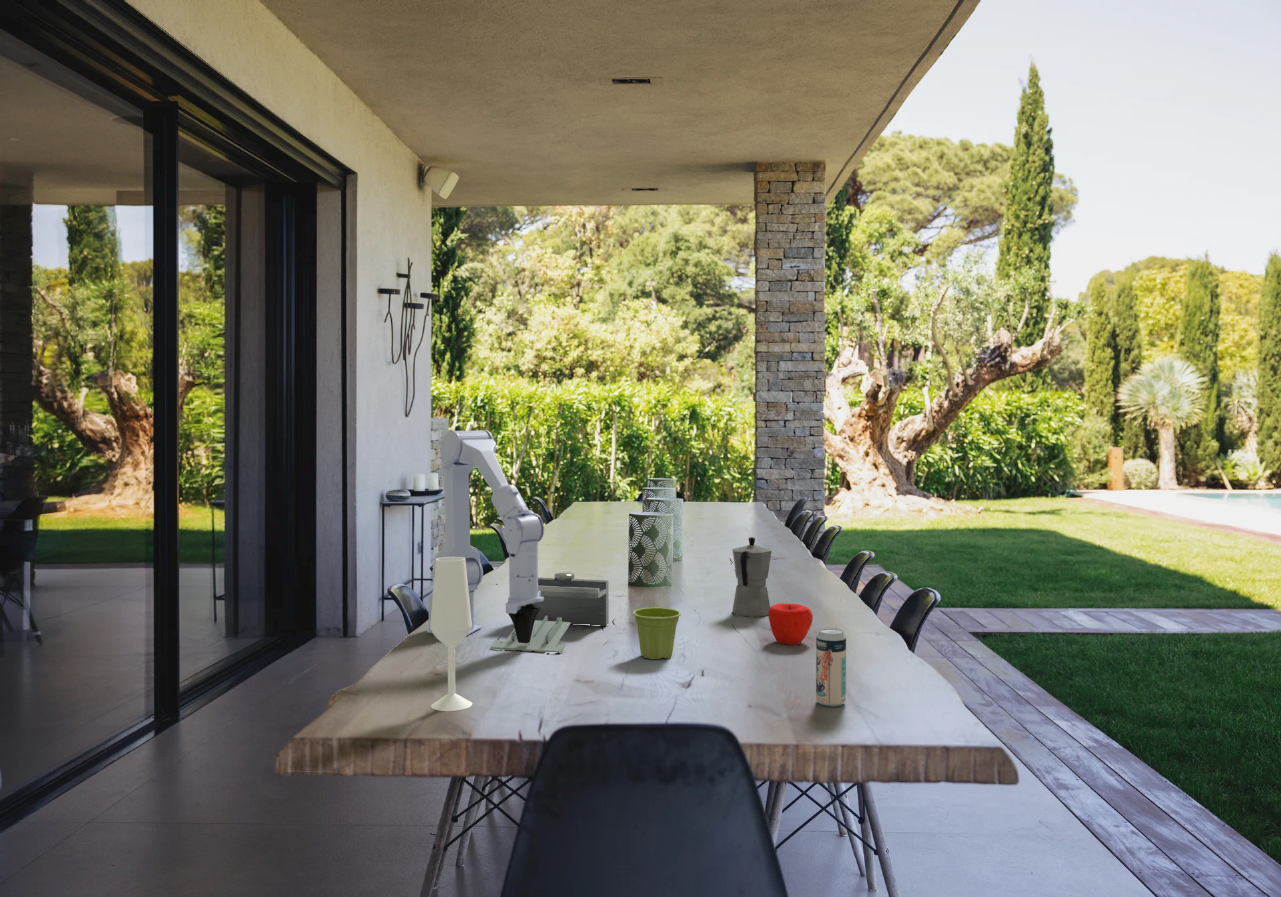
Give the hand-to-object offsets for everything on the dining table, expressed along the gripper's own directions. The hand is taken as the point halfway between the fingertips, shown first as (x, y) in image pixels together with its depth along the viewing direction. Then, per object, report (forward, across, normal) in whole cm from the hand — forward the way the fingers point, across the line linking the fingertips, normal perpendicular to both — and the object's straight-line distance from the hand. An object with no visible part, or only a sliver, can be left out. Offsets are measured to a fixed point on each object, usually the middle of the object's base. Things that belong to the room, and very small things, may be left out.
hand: (524, 642), depth 204 cm
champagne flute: (+2, -38, -2) cm, 39 cm away
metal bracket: (+2, +5, -1) cm, 5 cm away
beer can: (+2, -22, -62) cm, 66 cm away
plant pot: (+2, +2, -27) cm, 27 cm away
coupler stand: (+2, +22, 0) cm, 23 cm away
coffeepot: (+2, +47, -39) cm, 61 cm away
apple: (+2, +20, -51) cm, 55 cm away
